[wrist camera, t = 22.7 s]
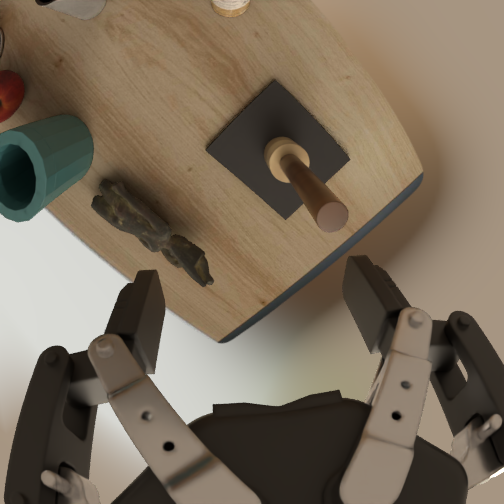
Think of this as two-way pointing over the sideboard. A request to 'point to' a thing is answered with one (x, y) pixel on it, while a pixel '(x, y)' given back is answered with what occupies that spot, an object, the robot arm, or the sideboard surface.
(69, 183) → the jar
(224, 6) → the spice bottle
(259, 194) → the mat
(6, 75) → the apple
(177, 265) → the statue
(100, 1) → the grey hollow cylinder
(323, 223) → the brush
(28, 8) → the sideboard surface
